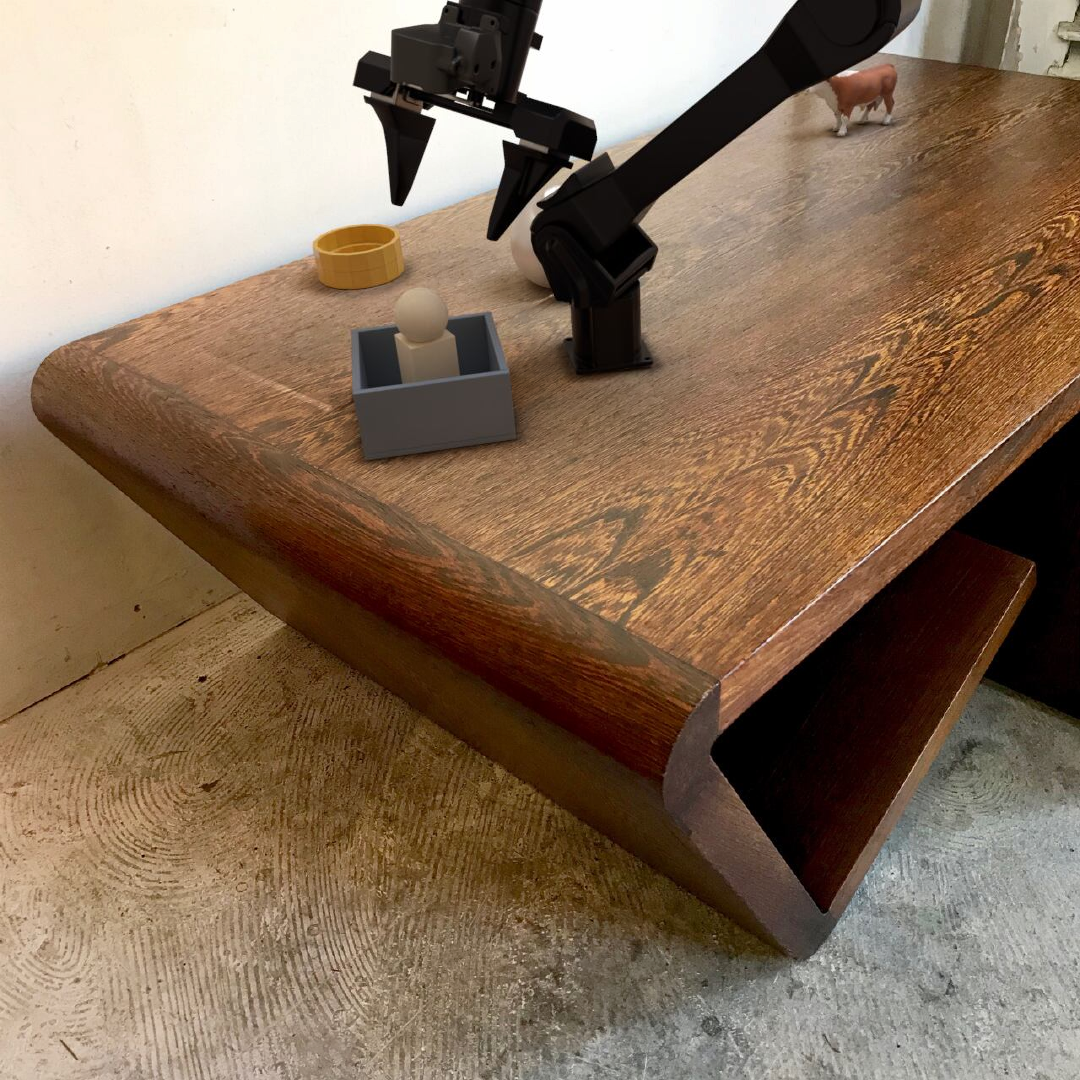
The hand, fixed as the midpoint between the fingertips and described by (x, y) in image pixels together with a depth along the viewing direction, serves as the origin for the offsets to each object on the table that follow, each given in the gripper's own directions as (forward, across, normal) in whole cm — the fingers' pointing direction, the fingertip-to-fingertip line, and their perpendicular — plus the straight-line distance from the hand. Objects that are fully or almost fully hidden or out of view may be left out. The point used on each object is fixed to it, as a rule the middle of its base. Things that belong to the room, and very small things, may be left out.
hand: (442, 222), depth 80 cm
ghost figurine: (+4, -1, +23) cm, 23 cm away
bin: (+14, +4, -1) cm, 14 cm away
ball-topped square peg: (+13, +4, 0) cm, 14 cm away
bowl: (+10, -20, +18) cm, 29 cm away
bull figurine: (-22, +4, +77) cm, 80 cm away
